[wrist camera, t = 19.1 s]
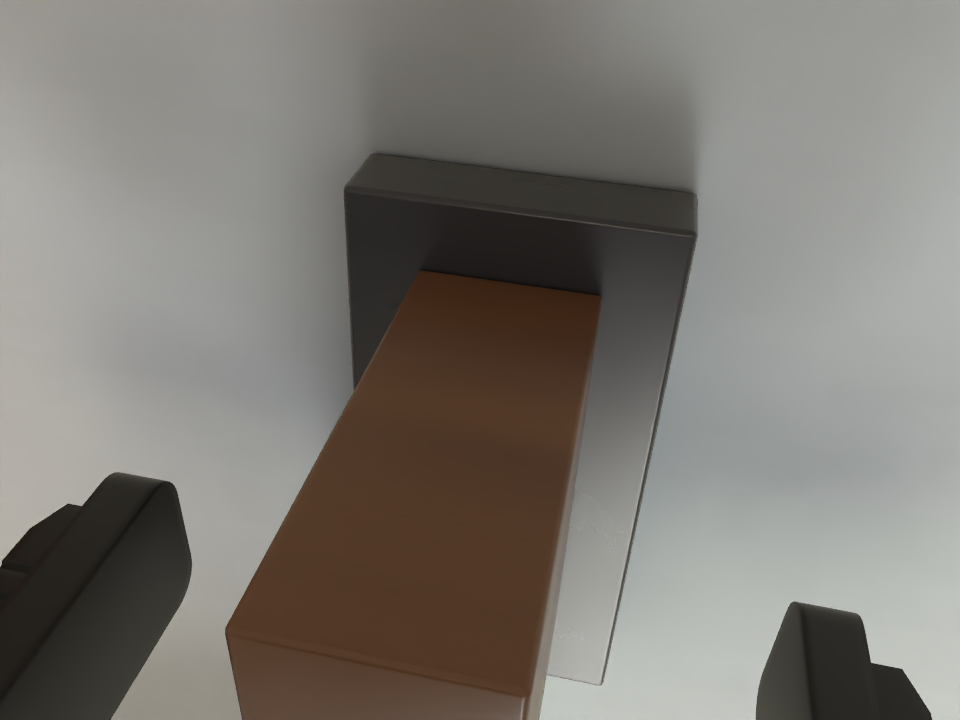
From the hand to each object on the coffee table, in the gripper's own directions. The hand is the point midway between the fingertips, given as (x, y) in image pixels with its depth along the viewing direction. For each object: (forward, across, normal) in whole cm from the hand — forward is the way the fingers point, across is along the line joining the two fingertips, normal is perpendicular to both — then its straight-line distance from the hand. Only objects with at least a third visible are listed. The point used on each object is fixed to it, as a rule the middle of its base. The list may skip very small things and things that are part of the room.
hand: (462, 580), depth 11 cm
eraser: (+3, 0, 0) cm, 3 cm away
